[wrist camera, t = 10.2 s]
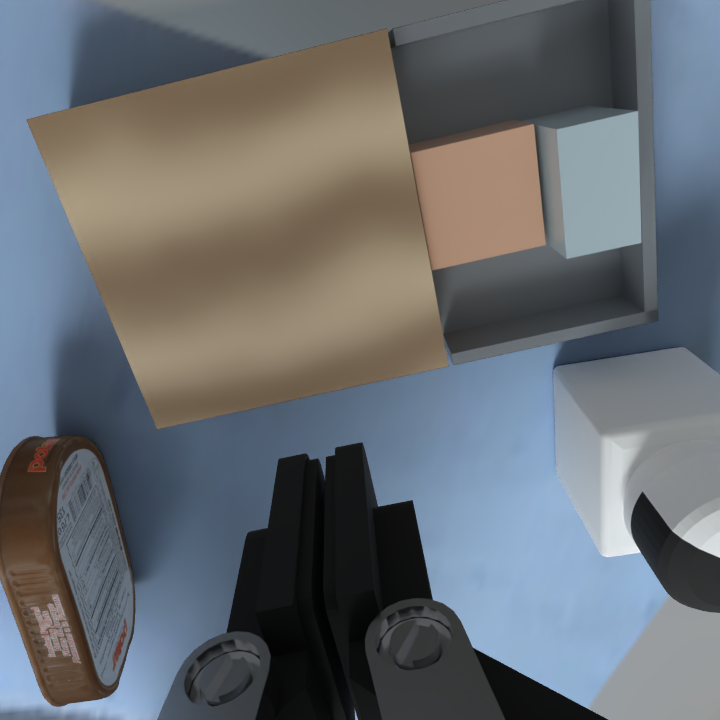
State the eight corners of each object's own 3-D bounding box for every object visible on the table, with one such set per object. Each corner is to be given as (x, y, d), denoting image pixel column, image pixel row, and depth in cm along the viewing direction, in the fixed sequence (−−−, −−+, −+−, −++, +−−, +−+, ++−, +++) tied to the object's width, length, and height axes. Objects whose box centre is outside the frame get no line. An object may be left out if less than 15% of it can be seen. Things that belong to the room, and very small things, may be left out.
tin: (44, 407, 33) (-45, 506, 25) (103, 404, 33) (32, 501, 25) (104, 614, 39) (47, 744, 32) (154, 612, 39) (109, 741, 32)
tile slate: (531, 231, 29) (594, 217, 29) (566, 258, 25) (641, 242, 25) (519, 121, 27) (587, 105, 27) (556, 129, 23) (638, 110, 23)
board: (436, 333, 32) (448, 366, 28) (177, 390, 33) (157, 429, 29) (380, 35, 26) (387, 28, 23) (67, 114, 27) (26, 119, 23)
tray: (630, 300, 32) (658, 320, 29) (443, 340, 32) (453, 365, 29) (616, -24, 26) (649, -37, 23) (387, 34, 26) (392, 28, 23)
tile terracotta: (526, 229, 29) (545, 245, 27) (423, 252, 30) (431, 270, 27) (514, 119, 27) (533, 124, 25) (403, 145, 28) (410, 153, 25)
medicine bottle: (677, 456, 36) (828, 622, 25) (554, 474, 36) (649, 647, 25) (685, 343, 33) (860, 476, 22) (550, 364, 33) (656, 505, 22)
